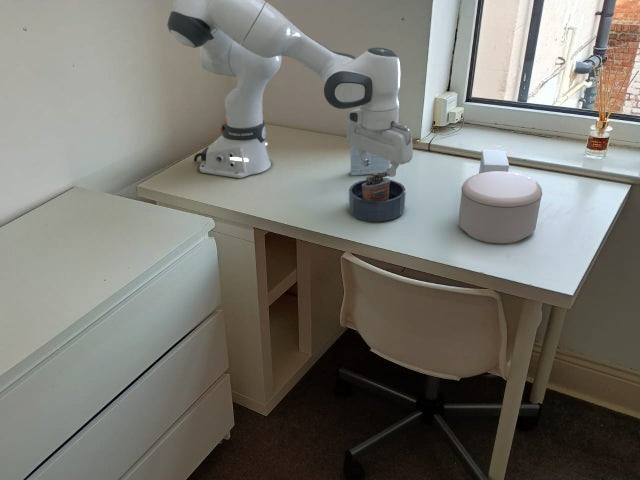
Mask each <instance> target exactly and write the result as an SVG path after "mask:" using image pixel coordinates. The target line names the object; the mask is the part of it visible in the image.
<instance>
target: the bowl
mask: <svg viewBox="0 0 640 480" xmlns="http://www.w3.org/2000/svg"><path fill="white" fill-rule="evenodd" d="M366 182H367V180H366V179H363V180H360V181H357V182H355V183H353V184H352V185H351V186H350V187H349V189H348V211H349V213H350V214H351V215H352V216H353V217H355V218H357V219H358V220H359V219H360V220H364V221H369V222H385V221H389V220H394V219H397V218H398V217H400V216H401V215H402V214H404V212H405V209H406V193H407V189H406V188H405V185H403V184H402V183H401V182H399V181H396V180H392V179H390V184H389V200H384V201H370V200H365V199H362V184H363V183H366Z"/></svg>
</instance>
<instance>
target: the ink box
mask: <svg viewBox="0 0 640 480" xmlns="http://www.w3.org/2000/svg"><path fill="white" fill-rule="evenodd" d="M349 153H350V154H349V155H350V176H363V175H366V176H368V175H371V174H372V173H374V172H375V173H376V174H377V173H379V172H382V171H387V169H390V167H391V164H390V160H387V159H384V158H382V157H379V156H377V155H374V154H371V153H369V152H366V153H367V156H368V158H369V159H370V165H369V166H363V165H361V158H360V156H359V153H358V148H355V147H353V146H350V147H349Z"/></svg>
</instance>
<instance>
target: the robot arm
mask: <svg viewBox="0 0 640 480" xmlns="http://www.w3.org/2000/svg"><path fill="white" fill-rule="evenodd" d="M167 28H168V31H169V33H170V35H172V36H173V38H174V39H175V40H176V41H177V42H178V43H180V44H181V45H184V46H186V47H190V48H193V49H196V48H199V51H198V58H199V62H200V64H201V67H202V68H203V70H205V71H207V72H209V73H213V74H214V75H219V76H224V77H225V76H226V77H236V78H237V86H236V87H235V88H234V89H231V91H229V92H228V93H227V94H226V97H225V98H224V108H225V109H224V110H225V120H224V121H223V123H222V124H221V127H220V128H219V133H221V135H220V136H219V137H217V139H216V140H214V141H213V142H212V143H211V144H210V145H209V146H207V147H205V148H204V150H203V151H201V152H198V153H196V154H195V155H194V158H193V162H197V161H198V158H200V160H201V163H200V164H199V172H200V173H204V174H209V175H216V176H221V177H228V178H235V179H242V178H245V177H248V176H252V175H257V174H260V173H264V172H265V171H267V170H269V169H270V168H271V166H272V162H271V159H270V157H269V152H268V149H267V146H268V142H266V137H267V132H266V123H265V120H264V115H263V112H264V111H263V99H264V98H263V97H264V91H265V89H266V85H267V83H268V82H269V81H270V80H271V79H272V78H273V77H274V76H275V75H276V74H277V73H278V71H279V70H280V68H281V64H282V57H288V58H291V59H293V60H295V61H297V62H298V63H300V64H301V65H303V66H304V67H306V68H308V69H309V70H310V71H313V72H314V73H316V74H317V75H318V76H319V77H320V79H321V80H322V82H323V94H324V98H325V101H326V102H327V103H328V104H329V105H330V106H331V107H333V108H336V109H338V110H346V109H352V108H355V109H353V110H350V111H348V112H347V120H348V121H347V125H346V141H347V144H348V145H349V146H350V147H351V146H353V147H355V148H358V153H359V156H360V158H361V165H363V166H369V165H370V159H369V158H368V156H367V153H366V152H369V153H371V154H374V155H377V156H379V157H382V158H384V159H387V160H390V169H387V175H388V176H387V177H390V178H393V177H395V176H396V175H397V169H398V167H399V166H400V165H401V166H402V165H404V164H407V163H409V162H411V161H412V160H413V157H414V151H413V150H414V147H413V137H412V131H411V130H410V129H409V128H408V126H407V125H405V124H402V123H399V111H400V101H399V92H400V89H401V63H400V57H399V56H398V55H397V53H396V52H395V51H393V50H392V49H389V48H385V47H369V48H367V50H366V51H365V52H364V53H362V54H361V55H359V56H358V57H356V56H354V55H352V54H349V53H346V52H345V53H343V52H338V51H335V50H332V49H330V48H329V47H327V46H325V45H323V44H322V43H320V42H318V41H317V40H315V39H314V38H312V37H310V36H309V35H307V34H306V33H304V32H303V31H301V30H300V29H299V28H298V27H297V26H296V25H294V24H293V23H292V22H291V21H290V20H289V19H288V18H287V17H286V16H285V15H284V14H283V13H281V12H280V11H279V10H278V9H277V8H275V7H274V6H273V5H272V4H270V3H268V2H267V1H265V0H172V10H171V11H170V14H169V17H168V20H167ZM357 107H358V108H357Z"/></svg>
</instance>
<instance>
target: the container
mask: <svg viewBox="0 0 640 480" xmlns="http://www.w3.org/2000/svg"><path fill="white" fill-rule="evenodd" d="M542 197H543V189H542V187H541V185H540V183H539V182H538V181H536V180H534V179H533V178H532V177H529V176H528V175H524V174H522V173H517V172H512V171H508V172H502V171H493V172H485V173H480V174H479V173H476V174H474V175H472V176H470V177H468V178H467V179H466V180H465V181H464V182H463V184H462V186H461V193H460V203H459V212H458V226H459V227H460V228H461V230H463V232H465V233H466V234H467V235H468V236H470V237H471V238H473V239H475V240H478V241H481V242H485V243H490V244H511V243H516V242H519V241H521V240H523V239H525V238H527V237H529V236H531V235H532V234H533V233H534V232H535V231H536V228H537V224H538V222H537V221H538V218H539V212H540V207H541V200H542Z"/></svg>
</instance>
